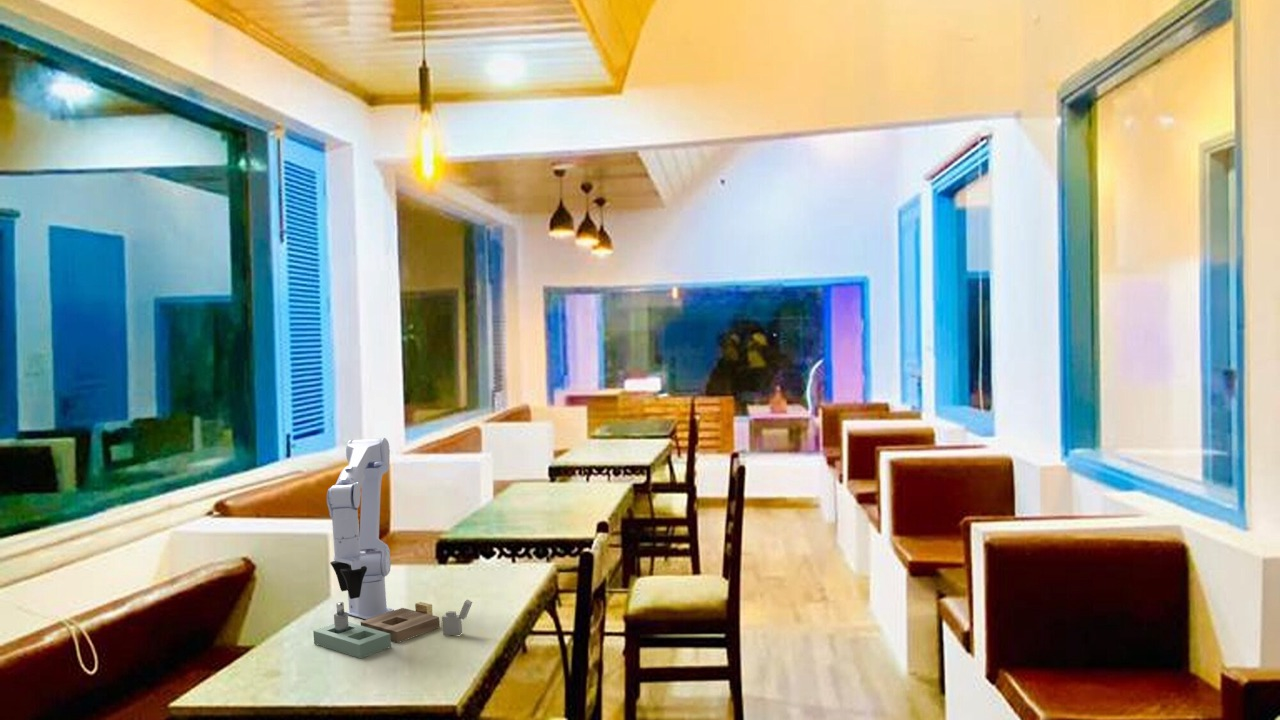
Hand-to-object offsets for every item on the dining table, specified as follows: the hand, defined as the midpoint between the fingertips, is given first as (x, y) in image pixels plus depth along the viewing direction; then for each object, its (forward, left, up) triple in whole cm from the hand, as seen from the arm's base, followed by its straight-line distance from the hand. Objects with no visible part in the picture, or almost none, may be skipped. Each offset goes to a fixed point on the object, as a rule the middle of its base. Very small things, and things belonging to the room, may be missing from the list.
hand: (350, 594), depth 213 cm
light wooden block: (+6, +14, -10) cm, 18 cm away
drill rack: (+5, -3, -10) cm, 12 cm away
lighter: (+21, +14, -10) cm, 27 cm away
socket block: (+6, +9, -10) cm, 15 cm away
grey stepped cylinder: (+1, -3, -10) cm, 11 cm away
